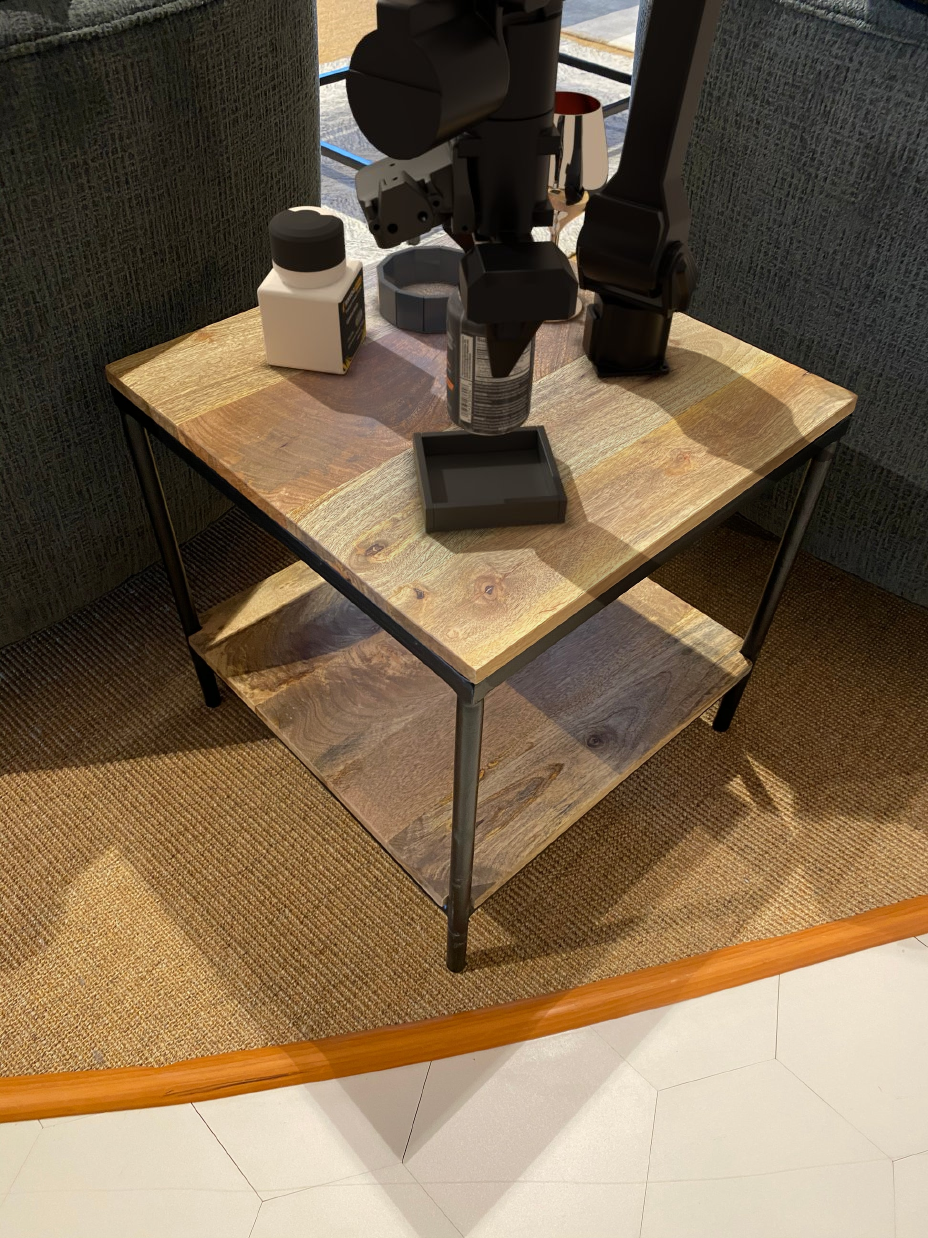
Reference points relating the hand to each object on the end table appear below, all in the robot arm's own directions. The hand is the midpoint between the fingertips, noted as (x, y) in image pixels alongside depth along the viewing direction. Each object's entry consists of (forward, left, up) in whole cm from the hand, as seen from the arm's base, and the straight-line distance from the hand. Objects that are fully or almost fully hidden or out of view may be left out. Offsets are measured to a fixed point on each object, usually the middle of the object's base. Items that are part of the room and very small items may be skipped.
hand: (492, 350), depth 66 cm
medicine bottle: (+12, -21, -12) cm, 27 cm away
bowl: (+1, -28, -11) cm, 30 cm away
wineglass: (-10, -27, -12) cm, 31 cm away
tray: (0, 0, -12) cm, 12 cm away
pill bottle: (0, 0, -5) cm, 5 cm away
